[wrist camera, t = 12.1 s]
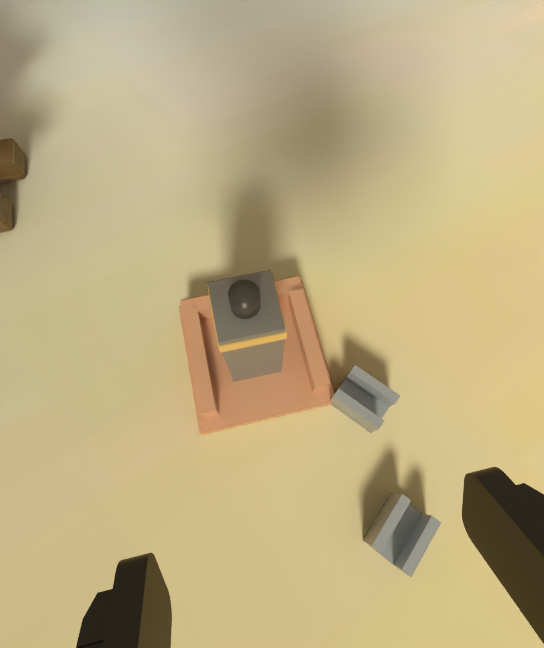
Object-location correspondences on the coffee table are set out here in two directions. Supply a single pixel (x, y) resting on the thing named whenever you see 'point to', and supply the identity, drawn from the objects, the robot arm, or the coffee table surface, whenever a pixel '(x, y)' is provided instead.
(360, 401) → the clip
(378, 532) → the clip
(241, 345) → the plug
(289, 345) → the holder
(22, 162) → the toy
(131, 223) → the coffee table surface
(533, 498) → the robot arm
